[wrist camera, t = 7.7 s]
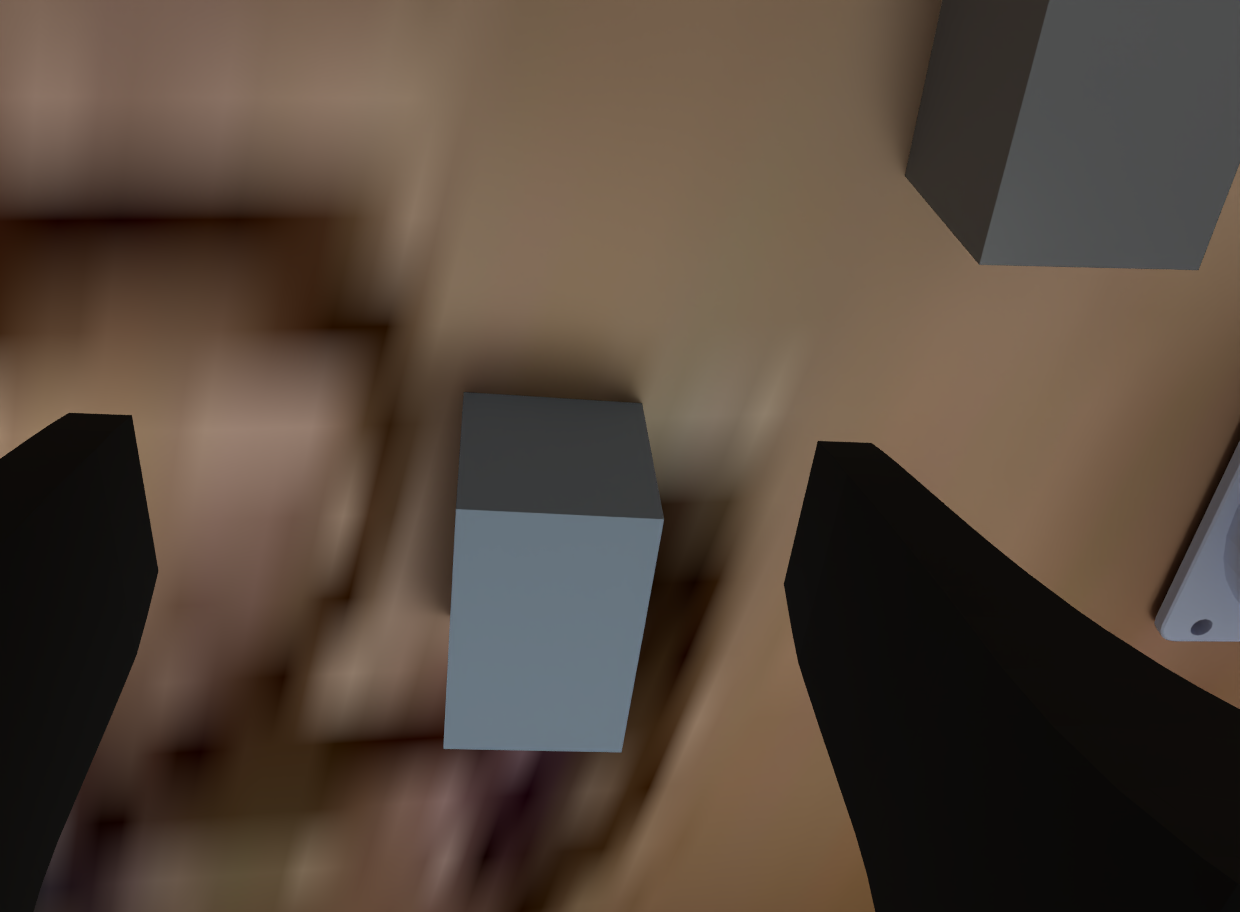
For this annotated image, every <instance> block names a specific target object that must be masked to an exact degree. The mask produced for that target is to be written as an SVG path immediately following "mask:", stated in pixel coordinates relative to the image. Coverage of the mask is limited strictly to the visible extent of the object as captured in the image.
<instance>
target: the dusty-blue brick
mask: <svg viewBox="0 0 1240 912" xmlns="http://www.w3.org/2000/svg"><path fill="white" fill-rule="evenodd" d="M663 522H664V517H663V512H662V506H661V501H660V496H659V491H658V485H657V480H656V475H655V469H654V464H653V459H652V453H651V448H650V443H649V437H648V432H647V427H646V422H645V416H644V411H643V406H642V403H630V402H614V401H598V400H582V399H566V398H550V397H534V396H518V395H502V394H486V393H470V392H464V396H463V411H462V426H461V441H460V456H459V471H458V487H457V502H456V519H455V538H454V557H453V576H452V595H451V614H450V634H449V653H448V672H447V691H446V710H445V730H444V749H483V750H533V751H583V752H622V746H623V741H624V735H625V730H626V724H627V719H628V713H629V708H630V702H631V697H632V691H633V686H634V680H635V675H636V669H637V664H638V659H639V653H640V648H641V642H642V637H643V631H644V626H645V620H646V615H647V609H648V604H649V598H650V593H651V587H652V582H653V576H654V571H655V565H656V560H657V555H658V549H659V544H660V538H661V533H662V527H663Z"/></svg>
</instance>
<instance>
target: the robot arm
mask: <svg viewBox="0 0 1240 912" xmlns="http://www.w3.org/2000/svg"><path fill="white" fill-rule="evenodd" d="M157 574H158V566H157V560H156V554H155V548H154V543H153V537H152V531H151V525H150V519H149V513H148V507H147V502H146V496H145V490H144V484H143V478H142V472H141V466H140V461H139V455H138V449H137V443H136V437H135V431H134V425H133V420H132V415H111V414H84V413H68V414H66V415H65V416H63V417H61V418H60V419H58V420H56V421H55V422H53V423H52V424H50V425H49V426H47V427H46V428H44V429H43V430H41V431H40V432H38V433H37V434H35V435H34V436H32V437H31V438H29V439H28V440H26V441H25V442H24V443H22V444H21V445H19V446H18V447H16V448H15V449H14V450H12V451H11V452H9V453H8V454H6V455H5V456H4V457H2V458H1V459H0V912H33V911H34V908H35V904H36V901H37V898H38V895H39V891H40V888H41V885H42V882H43V879H44V877H45V874H46V871H47V869H48V866H49V863H50V861H51V858H52V855H53V853H54V850H55V847H56V845H57V842H58V839H59V837H60V835H61V832H62V830H63V828H64V825H65V823H66V821H67V818H68V816H69V814H70V811H71V809H72V807H73V804H74V802H75V800H76V797H77V795H78V793H79V790H80V788H81V786H82V783H83V781H84V779H85V776H86V774H87V772H88V769H89V767H90V765H91V762H92V760H93V758H94V755H95V753H96V751H97V748H98V746H99V744H100V741H101V739H102V737H103V734H104V732H105V729H106V727H107V725H108V722H109V720H110V718H111V715H112V713H113V711H114V708H115V706H116V703H117V701H118V699H119V696H120V694H121V691H122V689H123V687H124V684H125V682H126V679H127V677H128V675H129V672H130V670H131V667H132V665H133V662H134V660H135V657H136V655H137V651H138V648H139V644H140V640H141V637H142V633H143V630H144V626H145V622H146V619H147V615H148V611H149V607H150V603H151V599H152V595H153V591H154V587H155V583H156V579H157ZM784 587H785V593H786V599H787V605H788V611H789V617H790V623H791V628H792V633H793V638H794V643H795V648H796V653H797V658H798V663H799V666H800V669H801V672H802V676H803V679H804V682H805V685H806V688H807V691H808V694H809V697H810V700H811V703H812V706H813V709H814V712H815V715H816V719H817V722H818V725H819V728H820V731H821V733H822V736H823V739H824V742H825V745H826V748H827V751H828V754H829V757H830V760H831V763H832V766H833V769H834V772H835V775H836V778H837V781H838V784H839V787H840V790H841V793H842V796H843V799H844V802H845V804H846V807H847V810H848V813H849V816H850V819H851V822H852V825H853V828H854V831H855V834H856V838H857V841H858V844H859V848H860V851H861V855H862V858H863V862H864V865H865V869H866V872H867V876H868V881H869V885H870V890H871V894H872V899H873V903H874V908H875V912H1240V709H1238V708H1236V707H1234V706H1233V705H1231V704H1229V703H1227V702H1225V701H1223V700H1221V699H1220V698H1218V697H1216V696H1214V695H1212V694H1210V693H1209V692H1207V691H1205V690H1203V689H1201V688H1199V687H1197V686H1196V685H1194V684H1192V683H1191V682H1189V681H1187V680H1185V679H1184V678H1182V677H1180V676H1179V675H1177V674H1175V673H1173V672H1172V671H1170V670H1168V669H1167V668H1165V667H1163V666H1162V665H1160V664H1158V663H1157V662H1155V661H1154V660H1152V659H1151V658H1149V657H1148V656H1146V655H1144V654H1143V653H1141V652H1140V651H1138V650H1137V649H1135V648H1133V647H1132V646H1130V645H1129V644H1127V643H1126V642H1124V641H1123V640H1121V639H1119V638H1118V637H1116V636H1115V635H1113V634H1112V633H1110V632H1108V631H1107V630H1105V629H1104V628H1102V627H1101V626H1099V625H1098V624H1097V623H1095V622H1094V621H1092V620H1091V619H1089V618H1088V617H1086V616H1085V615H1084V614H1082V613H1081V612H1079V611H1078V610H1076V609H1075V608H1074V607H1072V606H1071V605H1070V604H1068V603H1067V602H1066V601H1064V600H1063V599H1062V598H1060V597H1059V596H1058V595H1056V594H1055V593H1054V592H1052V591H1051V590H1050V589H1048V588H1047V587H1046V586H1044V585H1043V584H1042V583H1040V582H1039V581H1038V580H1036V579H1035V578H1033V577H1032V576H1031V575H1030V574H1028V573H1027V572H1026V571H1024V570H1023V569H1022V568H1021V567H1019V566H1018V565H1017V564H1016V563H1014V562H1013V561H1012V560H1011V559H1009V558H1008V557H1007V556H1006V555H1004V554H1003V553H1002V552H1001V551H999V550H998V549H997V548H996V547H995V546H993V545H992V544H991V543H990V542H988V541H987V540H986V539H985V538H984V537H982V536H981V535H980V534H979V533H978V532H977V531H975V530H974V529H973V528H972V527H971V526H969V525H968V524H967V523H966V522H965V521H964V520H962V519H961V518H960V517H959V516H958V515H957V514H955V513H954V512H953V511H952V510H951V509H950V508H948V507H947V506H946V505H945V504H944V503H943V502H941V501H940V500H939V499H938V498H937V497H936V496H935V495H933V494H932V493H931V492H930V491H929V490H928V489H927V488H925V487H924V486H923V485H922V484H921V483H920V482H918V481H917V480H916V479H915V478H914V477H913V476H912V475H910V474H909V473H908V472H907V471H906V470H905V469H903V468H902V467H901V466H900V465H899V464H897V463H896V462H895V461H894V460H893V459H891V458H890V457H889V456H888V455H887V454H885V453H884V452H883V451H881V450H880V449H879V448H877V447H876V446H875V445H873V444H872V443H857V442H830V441H818V442H817V447H816V451H815V455H814V459H813V463H812V468H811V472H810V476H809V480H808V485H807V489H806V493H805V497H804V501H803V506H802V510H801V514H800V518H799V522H798V527H797V531H796V535H795V539H794V544H793V548H792V552H791V556H790V560H789V565H788V569H787V573H786V577H785V581H784ZM1199 620H1200V621H1199ZM1155 626H1156V628H1157V630H1158V631H1159V633H1160V634H1161V636H1162V637H1163V638H1165V639H1166V640H1170V641H1240V441H1239V443H1238V445H1237V447H1236V450H1235V452H1234V454H1233V456H1232V458H1231V460H1230V462H1229V464H1228V466H1227V468H1226V471H1225V473H1224V475H1223V477H1222V479H1221V481H1220V483H1219V485H1218V487H1217V490H1216V492H1215V494H1214V496H1213V498H1212V500H1211V502H1210V504H1209V506H1208V508H1207V511H1206V513H1205V515H1204V517H1203V519H1202V521H1201V523H1200V525H1199V527H1198V529H1197V532H1196V534H1195V536H1194V538H1193V540H1192V542H1191V544H1190V546H1189V548H1188V550H1187V553H1186V555H1185V557H1184V559H1183V561H1182V563H1181V565H1180V567H1179V569H1178V571H1177V574H1176V576H1175V578H1174V580H1173V582H1172V584H1171V586H1170V588H1169V590H1168V593H1167V595H1166V597H1165V599H1164V601H1163V603H1162V605H1161V607H1160V609H1159V611H1158V614H1157V616H1156V618H1155Z"/></svg>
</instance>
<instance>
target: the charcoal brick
mask: <svg viewBox="0 0 1240 912" xmlns="http://www.w3.org/2000/svg"><path fill="white" fill-rule="evenodd" d="M1239 164H1240V0H942V4H941V9H940V14H939V18H938V23H937V28H936V32H935V37H934V42H933V46H932V51H931V56H930V60H929V65H928V70H927V74H926V79H925V84H924V89H923V93H922V98H921V103H920V107H919V112H918V117H917V121H916V126H915V131H914V135H913V140H912V145H911V149H910V154H909V159H908V163H907V168H906V173H905V177H906V178H907V179H908V180H909V182H910V183H911V184H912V185H913V186H914V188H915V189H916V190H917V191H918V192H919V193H920V195H921V196H922V197H923V198H924V199H925V201H926V202H927V203H928V204H929V205H930V207H931V208H932V209H933V210H934V211H935V212H936V214H937V215H938V216H939V217H940V218H941V220H942V221H943V222H944V223H945V224H946V226H947V227H948V228H949V229H950V230H951V232H952V233H953V234H954V235H955V236H956V237H957V239H958V240H959V241H960V242H961V243H962V245H963V246H964V247H965V248H966V249H967V251H968V252H969V253H970V254H971V255H972V257H973V258H974V259H975V260H976V261H977V262H978V264H979V265H1013V266H1053V267H1094V268H1135V269H1176V270H1199V267H1200V265H1201V262H1202V259H1203V257H1204V254H1205V252H1206V249H1207V246H1208V244H1209V241H1210V239H1211V236H1212V234H1213V231H1214V228H1215V226H1216V223H1217V221H1218V218H1219V215H1220V213H1221V210H1222V208H1223V205H1224V202H1225V200H1226V197H1227V195H1228V192H1229V189H1230V187H1231V184H1232V182H1233V179H1234V176H1235V174H1236V171H1237V169H1238V166H1239Z"/></svg>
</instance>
